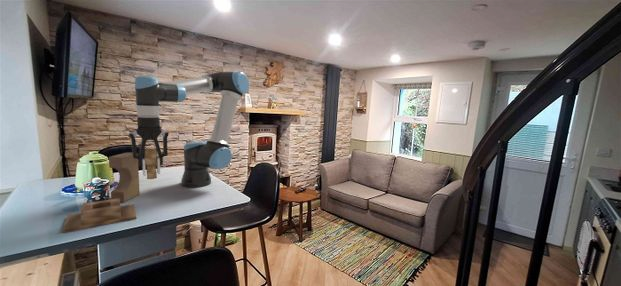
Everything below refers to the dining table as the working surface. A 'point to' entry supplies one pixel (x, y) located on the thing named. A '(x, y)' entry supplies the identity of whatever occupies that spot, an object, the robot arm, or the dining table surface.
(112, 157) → the decorative block
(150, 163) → the peg
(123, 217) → the board
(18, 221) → the dining table surface
